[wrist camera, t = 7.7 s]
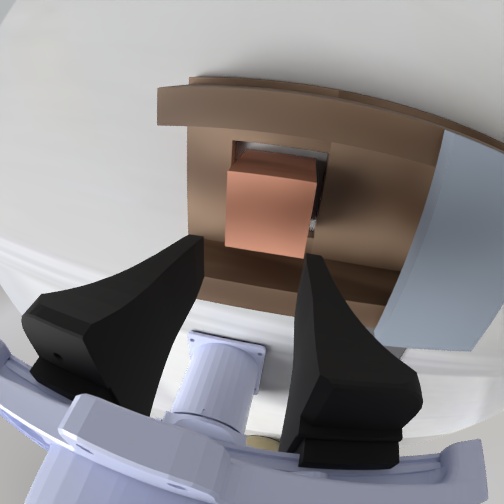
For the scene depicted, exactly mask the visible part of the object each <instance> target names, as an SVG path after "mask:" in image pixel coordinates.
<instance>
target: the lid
mask: <svg viewBox="0 0 504 504" xmlns="http://www.w3.org/2000/svg"><path fill="white" fill-rule="evenodd" d="M503 303H504V153H501V152H499V151H497V150H495V149H493V148H490V147H488V146H486V145H483V144H481V143H479V142H476V141H474V140H471V139H469V138H466V137H464V136H461V135H458V134H456V133H453V132H450V131H447V130H445V131H444V135H443V140H442V144H441V149H440V153H439V157H438V161H437V165H436V169H435V172H434V176H433V180H432V183H431V187H430V190H429V194H428V197H427V200H426V203H425V207H424V210H423V213H422V216H421V219H420V222H419V225H418V228H417V231H416V233H415V236H414V239H413V242H412V245H411V247H410V250H409V253H408V255H407V258H406V260H405V263H404V265H403V268H402V270H401V273H400V275H399V278H398V280H397V282H396V285H395V287H394V289H393V292H392V294H391V296H390V298H389V301H388V303H387V305H386V307H385V309H384V311H383V314H382V316H381V318H380V320H379V322H378V324H377V326H376V328H375V330H374V335H375V338H376V339H377V340H378V341H379V342H380V343H381V344H382V345H383V346H392V347H404V348H416V349H431V350H448V351H471V350H472V349H473V348H474V346H475V345H476V344H477V342H478V341H479V340H480V338H481V337H482V335H483V334H484V332H485V331H486V330H487V328H488V327H489V325H490V324H491V322H492V321H493V319H494V318H495V316H496V314H497V313H498V311H499V310H500V308H501V306H502V305H503Z"/></svg>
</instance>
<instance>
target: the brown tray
mask: <svg viewBox="0 0 504 504" xmlns="http://www.w3.org/2000/svg"><path fill="white" fill-rule="evenodd" d="M157 125H165V126H187V199H188V234H191V235H198V236H204V279H203V282H202V285H201V288H200V291H199V293H198V296H197V298H196V299H200V300H205V301H210V302H215V303H220V304H225V305H230V306H236V307H241V308H246V309H252V310H257V311H263V312H269V313H275V314H281V315H287V316H293V317H295V308H296V300H297V293H298V288H299V284H300V279H301V275H302V270H303V265H304V260H305V256H306V253H309V254H315V255H321V256H322V257H323V259H324V261H325V263H326V266H327V268H328V270H329V272H330V274H331V276H332V278H333V280H334V282H335V284H336V286H337V287H338V289H339V291H340V293H341V294H342V296H343V298H344V299H345V301H346V302H347V304H348V305H349V307H350V308H351V310H352V311H353V313H354V314H355V315H356V316H357V318H358V319H359V320H360V322H361V323H362V324H363V325H364V326H365V327H370V328H376V326H377V324H378V322H379V320H380V318H381V316H382V314H383V311H384V309H385V307H386V305H387V303H388V301H389V298H390V296H391V294H392V292H393V289H394V287H395V285H396V282H397V280H398V278H399V275H400V273H401V270H402V268H403V265H404V263H405V260H406V258H407V255H408V253H409V250H410V247H411V245H412V242H413V239H414V236H415V233H416V231H417V228H418V225H419V222H420V219H421V216H422V213H423V210H424V207H425V203H426V200H427V197H428V194H429V190H430V187H431V183H432V180H433V176H434V172H435V169H436V165H437V161H438V157H439V153H440V149H441V144H442V140H443V135H444V131H445V130H447V131H450V132H453V133H456V134H458V135H461V136H464V137H466V138H469V139H471V140H474V141H476V142H479V143H481V144H483V145H486V146H488V147H490V148H493V149H495V150H497V151H499V152H501V153H504V143H502V142H499V141H497V140H495V139H493V138H491V137H489V136H486V135H484V134H482V133H480V132H477V131H475V130H472V129H470V128H468V127H465V126H463V125H460V124H457V123H455V122H452V121H450V120H447V119H444V118H441V117H438V116H435V115H433V114H430V113H427V112H423V111H420V110H417V109H414V108H411V107H407V106H404V105H400V104H397V103H393V102H389V101H386V100H382V99H378V98H374V97H369V96H365V95H361V94H356V93H351V92H347V91H341V90H336V89H331V88H325V87H319V86H313V85H306V84H299V83H291V82H282V81H273V80H261V79H248V78H228V77H189V85H179V86H169V87H160V88H158V93H157ZM236 141H246V142H255V143H264V144H272V145H279V146H287V147H293V148H300V149H307V150H313V151H319V152H324V153H328V158H327V164H326V170H325V176H324V181H323V187H322V193H321V198H320V203H319V209H318V214H317V219H316V224H315V229H314V231H308V237H307V242H306V247H305V252H304V257H303V259H302V258H296V257H290V256H284V255H277V254H271V253H265V252H258V251H252V250H246V249H239V248H233V247H227V246H225V224H226V195H227V171H228V170H229V168H230V167H231V166H232V165H233V164H234V163H235V148H236Z"/></svg>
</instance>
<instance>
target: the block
mask: <svg viewBox="0 0 504 504" xmlns="http://www.w3.org/2000/svg"><path fill="white" fill-rule="evenodd" d="M316 186H317V175H316V159H315V158H309V157H303V156H296V155H289V154H282V153H274V152H266V151H258V150H249V149H246V151H245V152H244V153H243V154H242V155H241V156H240V157H239V158H238V159H237V161H236V162H235V163H234V164H233V165H232V166H231V167H230V168H229V170H228V171H227V195H226V224H225V246H227V247H233V248H239V249H246V250H252V251H258V252H265V253H271V254H277V255H284V256H290V257H296V258H302V259H303V257H304V252H305V247H306V242H307V237H308V231H309V226H310V220H311V215H312V209H313V204H314V198H315V192H316Z"/></svg>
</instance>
